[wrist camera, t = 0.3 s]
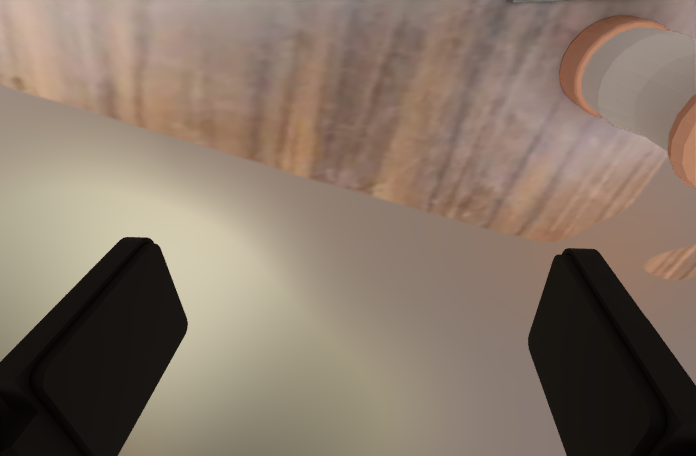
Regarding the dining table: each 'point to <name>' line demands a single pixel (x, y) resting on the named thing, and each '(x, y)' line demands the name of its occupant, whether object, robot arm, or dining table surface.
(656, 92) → the salt shaker
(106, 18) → the dining table surface
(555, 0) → the slate pad
